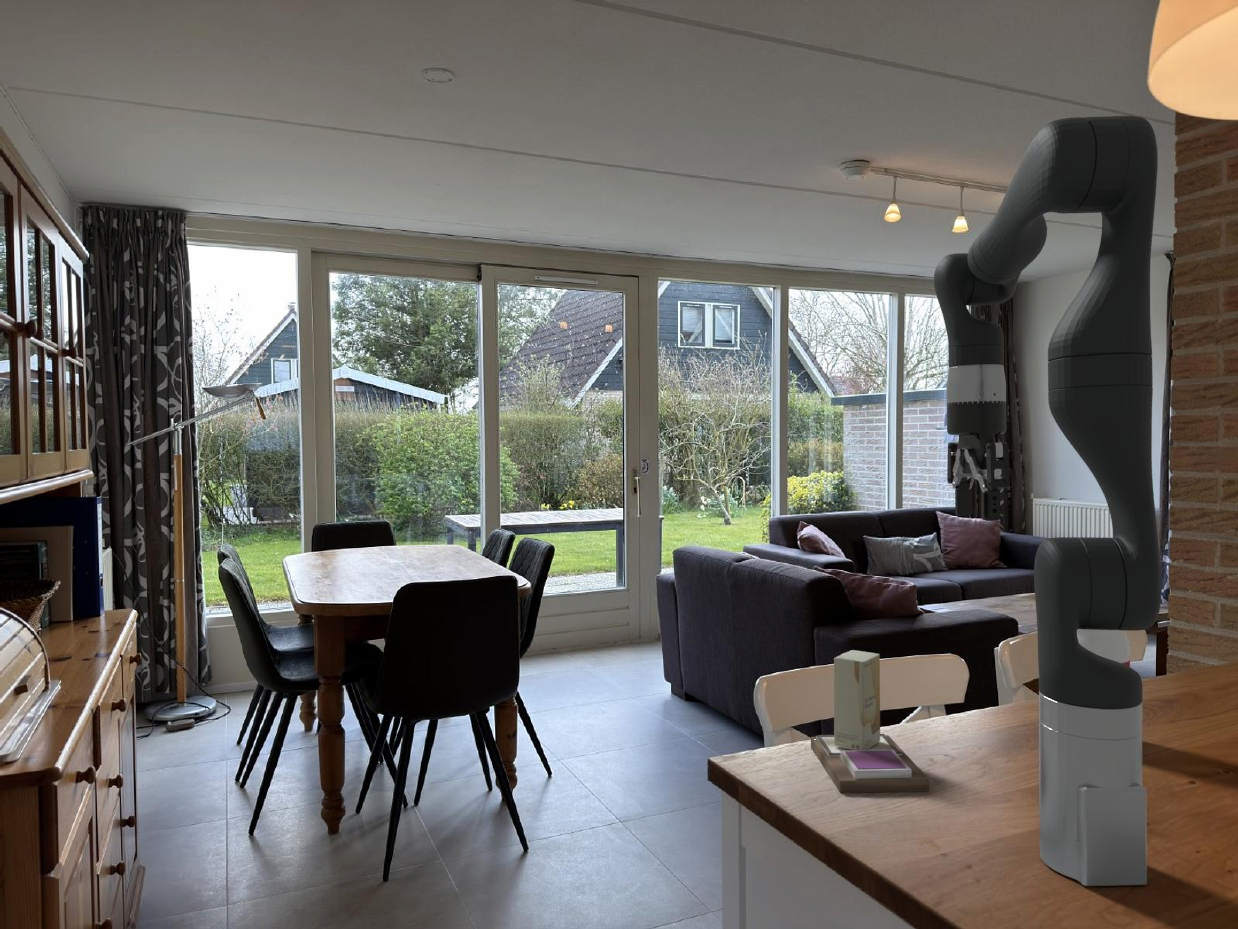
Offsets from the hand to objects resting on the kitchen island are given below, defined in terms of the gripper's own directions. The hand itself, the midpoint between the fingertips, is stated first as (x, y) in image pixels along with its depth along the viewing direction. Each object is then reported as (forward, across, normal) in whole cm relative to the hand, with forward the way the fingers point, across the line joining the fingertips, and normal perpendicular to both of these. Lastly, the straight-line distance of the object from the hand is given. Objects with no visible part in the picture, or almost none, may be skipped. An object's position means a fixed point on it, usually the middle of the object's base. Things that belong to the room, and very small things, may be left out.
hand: (976, 518), depth 120 cm
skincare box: (+31, -1, +17) cm, 35 cm away
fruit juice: (+33, +4, -18) cm, 37 cm away
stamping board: (+32, -5, +17) cm, 37 cm away
